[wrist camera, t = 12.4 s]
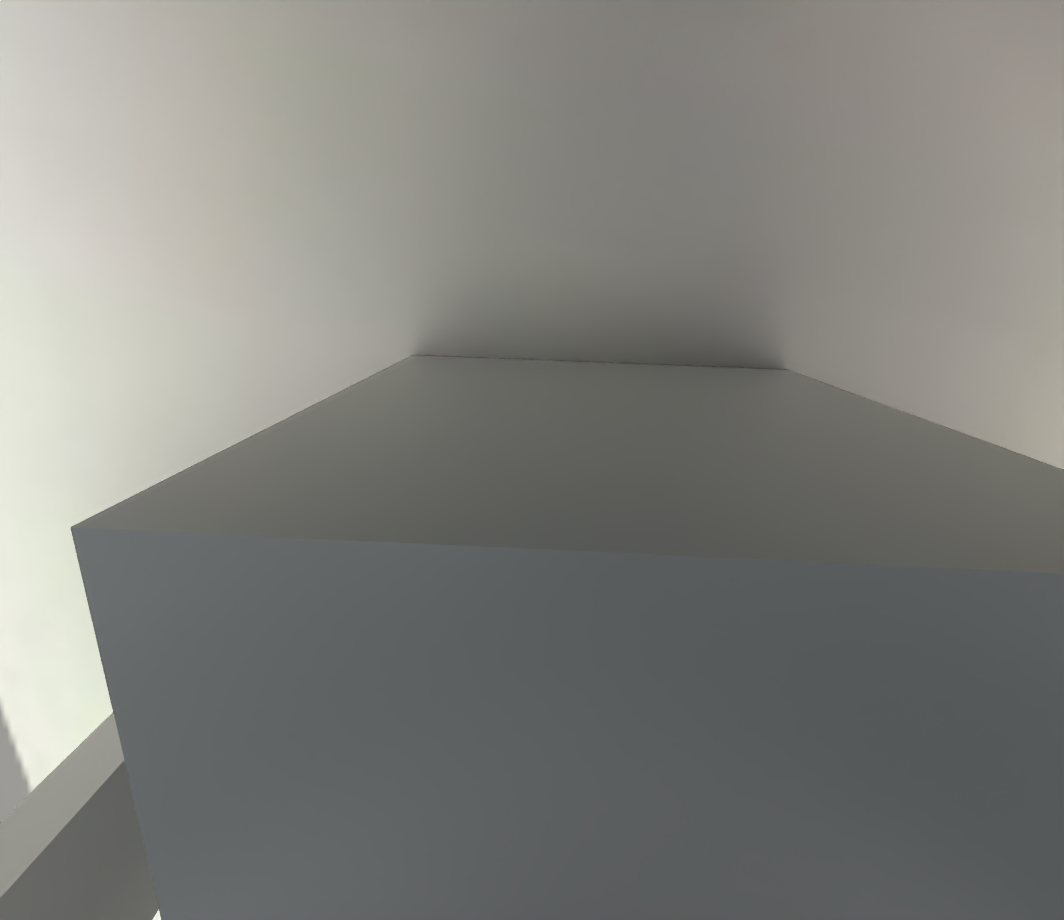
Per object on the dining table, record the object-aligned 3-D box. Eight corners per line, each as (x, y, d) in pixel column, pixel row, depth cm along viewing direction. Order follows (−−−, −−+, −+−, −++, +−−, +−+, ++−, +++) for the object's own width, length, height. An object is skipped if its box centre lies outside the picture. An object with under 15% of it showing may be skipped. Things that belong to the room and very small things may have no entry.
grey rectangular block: (412, 355, 12) (70, 527, 4) (786, 369, 12) (1392, 589, 3) (425, 787, 16) (271, 1395, 7) (713, 804, 16) (912, 1448, 7)
